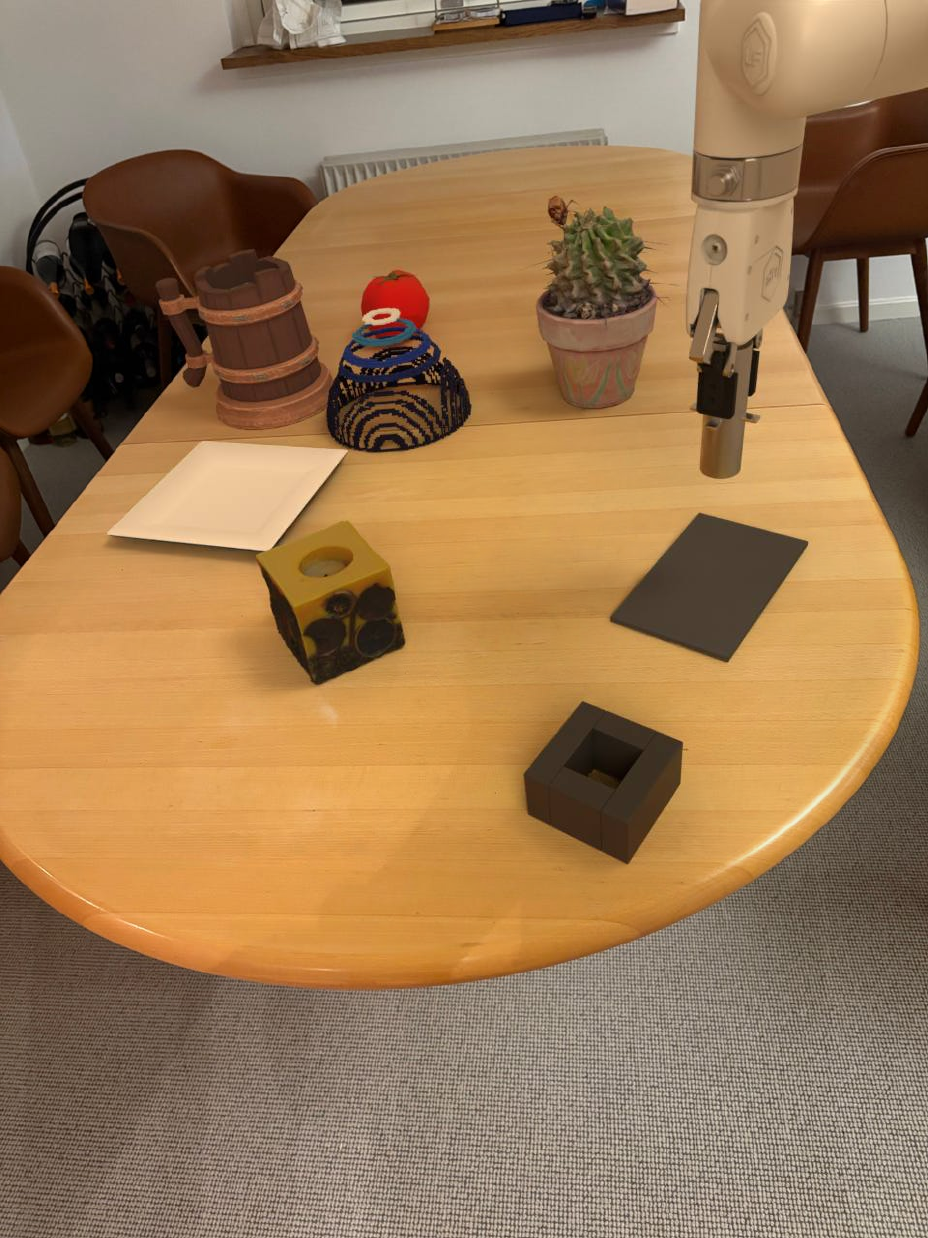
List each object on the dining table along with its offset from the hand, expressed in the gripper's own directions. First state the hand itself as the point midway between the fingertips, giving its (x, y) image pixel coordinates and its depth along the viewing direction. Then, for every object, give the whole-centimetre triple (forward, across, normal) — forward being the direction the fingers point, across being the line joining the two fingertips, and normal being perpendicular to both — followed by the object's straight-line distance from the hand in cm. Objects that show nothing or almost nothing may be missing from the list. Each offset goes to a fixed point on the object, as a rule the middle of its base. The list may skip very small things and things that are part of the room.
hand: (726, 401), depth 76 cm
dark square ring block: (+20, -29, -4) cm, 35 cm away
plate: (+20, -12, +58) cm, 62 cm away
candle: (+20, -25, +28) cm, 43 cm away
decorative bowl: (+20, +15, +53) cm, 59 cm away
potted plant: (+20, +32, +30) cm, 48 cm away
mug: (+20, +10, +76) cm, 79 cm away
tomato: (+20, +37, +71) cm, 82 cm away
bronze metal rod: (+7, 0, 0) cm, 7 cm away
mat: (+20, 0, 0) cm, 20 cm away
